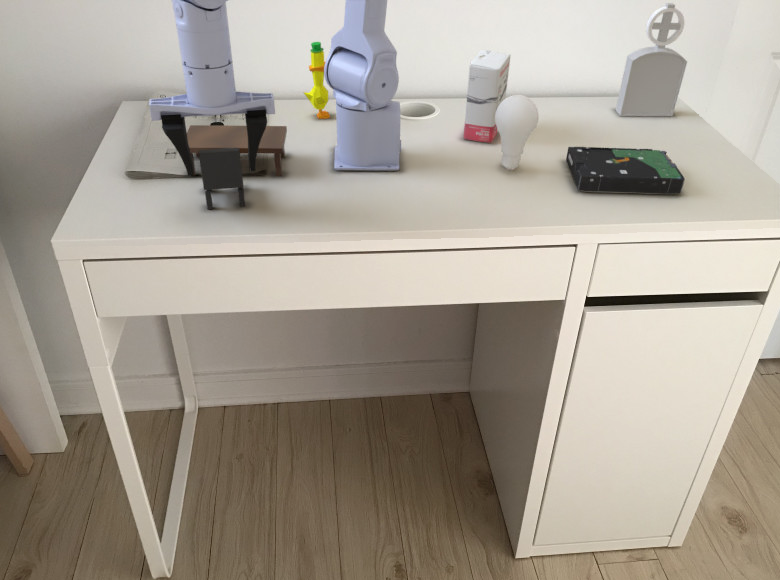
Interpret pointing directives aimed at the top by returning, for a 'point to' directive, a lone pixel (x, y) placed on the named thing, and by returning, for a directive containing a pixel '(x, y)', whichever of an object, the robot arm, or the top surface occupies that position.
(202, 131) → the brown toy table
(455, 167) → the top surface
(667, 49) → the gravestone
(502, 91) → the ink box
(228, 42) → the robot arm
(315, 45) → the toy figure
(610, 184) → the disk drive
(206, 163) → the chair
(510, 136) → the lightbulb
